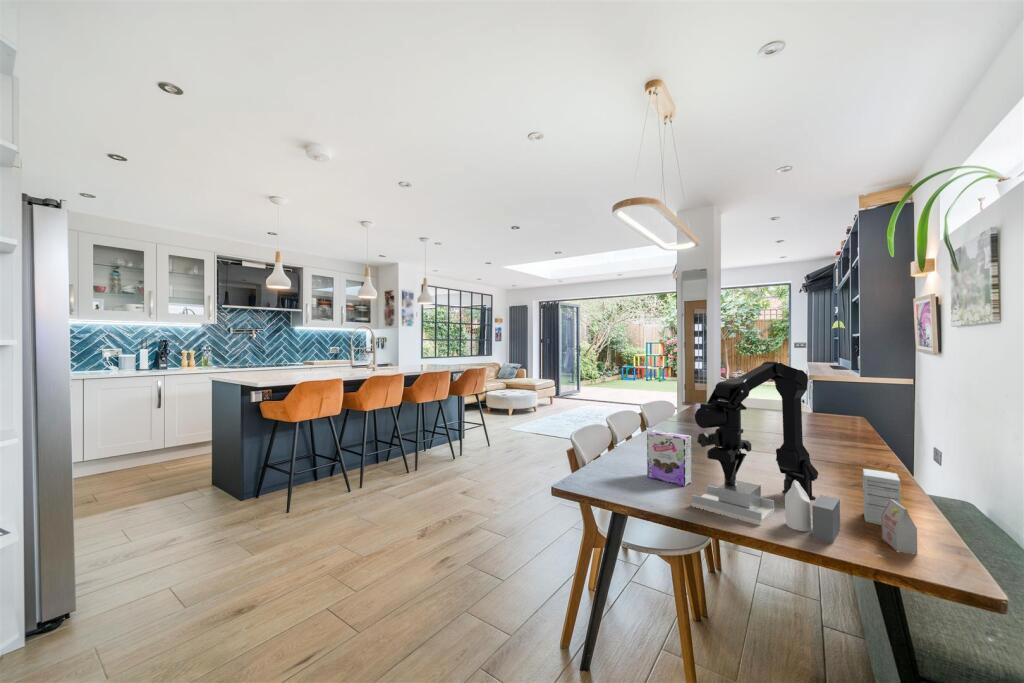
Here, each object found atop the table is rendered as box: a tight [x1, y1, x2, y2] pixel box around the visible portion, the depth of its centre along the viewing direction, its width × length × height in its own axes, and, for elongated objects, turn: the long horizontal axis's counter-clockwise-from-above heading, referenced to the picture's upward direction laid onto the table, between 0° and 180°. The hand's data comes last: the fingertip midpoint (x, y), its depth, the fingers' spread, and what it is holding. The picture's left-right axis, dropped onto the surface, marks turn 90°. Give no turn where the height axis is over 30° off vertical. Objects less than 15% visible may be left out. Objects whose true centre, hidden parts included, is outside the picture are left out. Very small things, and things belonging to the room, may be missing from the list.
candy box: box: [646, 429, 692, 487], centre depth 145 cm, size 14×6×16 cm, turn 45°
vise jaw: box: [717, 468, 762, 510], centre depth 118 cm, size 8×10×10 cm
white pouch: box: [784, 480, 812, 532], centre depth 108 cm, size 6×12×6 cm
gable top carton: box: [881, 499, 918, 555], centre depth 97 cm, size 4×7×10 cm, turn 160°
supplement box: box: [862, 468, 902, 526], centre depth 111 cm, size 7×7×13 cm
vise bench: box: [691, 484, 841, 544], centre depth 114 cm, size 33×13×8 cm, turn 44°
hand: (730, 479), depth 120 cm, fingers closed on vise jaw, 3 cm apart
